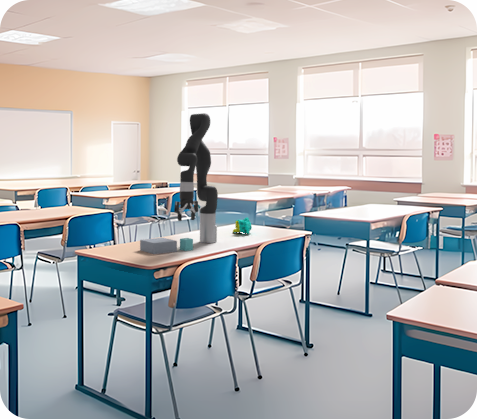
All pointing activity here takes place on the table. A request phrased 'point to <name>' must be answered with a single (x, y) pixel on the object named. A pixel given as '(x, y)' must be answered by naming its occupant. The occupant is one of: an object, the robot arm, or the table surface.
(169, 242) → the slate block
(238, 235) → the table surface
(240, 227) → the teal lumpy shape
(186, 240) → the teal block
